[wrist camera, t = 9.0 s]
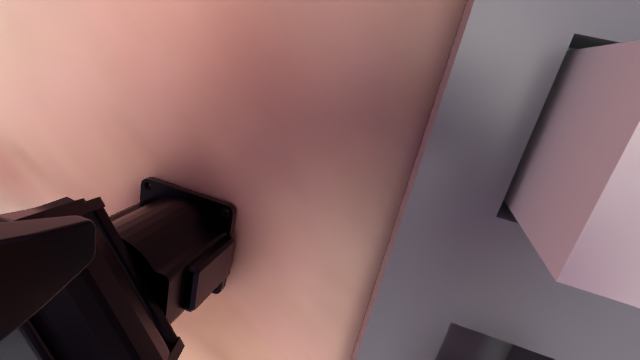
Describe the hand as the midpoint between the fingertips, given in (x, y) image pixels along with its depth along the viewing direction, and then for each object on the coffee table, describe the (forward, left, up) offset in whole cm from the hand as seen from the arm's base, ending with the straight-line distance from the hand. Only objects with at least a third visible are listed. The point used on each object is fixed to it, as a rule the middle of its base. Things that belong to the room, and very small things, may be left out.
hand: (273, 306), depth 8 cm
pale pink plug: (+8, +4, -12) cm, 15 cm away
